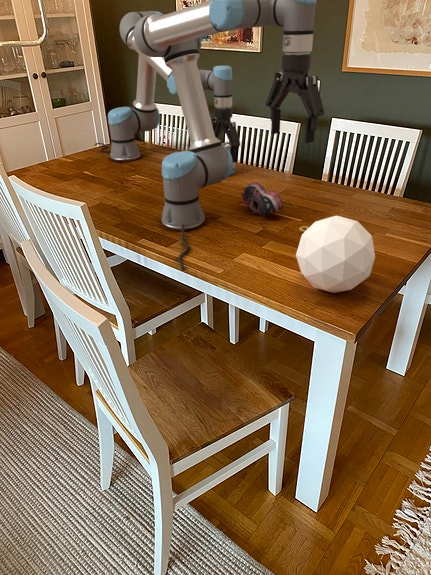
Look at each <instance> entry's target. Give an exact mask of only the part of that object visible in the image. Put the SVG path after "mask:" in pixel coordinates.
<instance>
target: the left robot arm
mask: <svg viewBox="0 0 431 575" xmlns="http://www.w3.org/2000/svg"><path fill="white" fill-rule="evenodd" d="M153 14H158V15H161V14H163V13H162V12H160V11H155V10H149V11H147V10H146V11H130V12H128V13H126V14H124V16H123V17H122V18H121V20H120V23H119V34H120V38H121V40H122V41H123V43H124V44H125V45H126V47H128V48H129V50H132V51H135V52H136V53H137V54H138V65H137V83H136V97H135V99H134V100H133V101H132V108H131V107H130V106H121V107H119V106H118V107H116V108H113V109H111V110H109V112H108V113H107V122H108V127H109V128H108V129H109V134H110V140H111V147H110V150H106V149H107V148H108V145H107V144H105V143H102V142H96V143H95V144H94V147H95V146H97V145H102V146H104V147H102V148H100V152H102V153H109V157H110V161H113V162H118V163H125V162H132V161H137V160H139V159H140V158H141V157H142V156H141V155H142V154H141V151H140V150H139V146H138V144H137V142H136V136H135V135H137V134H141V133H145V132H150V131H153V130H155V129H157V128H158V126H159V124H160V122H161V114H160V109H159V108H158V106H157V104H156V103H155V94H156V93H155V92H156V82H157V73H158V74H159V75H160V76H161V77H162V78H163V79H164V80H165V81H166V86H167V89H168V92H169V93H170V94H171V95H173V96H178V92H177V89H176V85H175V81H174V77H173V74H172V70H171V69H170V68H168V67H167V66H166V65H165V62H164V58H163V57H158V58H154V57H149V56H146V55H144V54H143V53H142V52H141V51H140V50H139V49H138V47H137V46H136V44H135V41H134V28H135V25H136V23H137V22H138V21H139V20H140V19H141V18H142V17H144V16H148V15H153ZM232 68H233V67H232V66H230V65H216V66H213V69H212V70H209V69H202V68H201V69H198V71H199V75H200V79H201V83H202V87H203V91H211V92H213V101H214V102H213V104H214V110H213V112H214V117H211V123H212V127H213V131H214V135H215V137H216V138H217V139H219V136H220V134H221V132H224V134H226V137H227V139H228V142H230V144H231V147H230V153H231V156H232V160H233V163H234V162H235V163H237V154H238V147H241V140H240V138H239V134H238V130H237V123H236V121H231V119H232V117H233V78H234V77H233V70H232ZM233 144H234V145H233Z"/></svg>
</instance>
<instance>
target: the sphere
mask: <svg viewBox="0 0 431 575" xmlns="http://www.w3.org/2000/svg"><path fill="white" fill-rule="evenodd" d="M308 227H309V228H308V229H307V228H306V229H307V230H306V229H305V232H303V233H302V234H301V236H300V240H299V243H298V247H297V251H296V253H295V257H296V261H297V264H298V267H299V270H300V273H301V275H303V277H304V278H305V280H306V281H307V282H308V283H309V284H310V285H311V287H312V288H314V289H317V290H320V291H325V292H328V293H332V294H335V293H341V292H347V291H351V290H353V289H354V288H356V287H357V286H358V285H359V284H361V283H362V282H364V281H365V280H367V279H368V278H369V277H370V276H371V272H372V269H373V267H374V262H375V259H376V252H375V247H374V241H373V235H372V234H371V233H370V232H368V230H367V229H366V228H365V227H364V226H363V225H362V224H361V223H360V222H359V221H358V220H356V219H355V220H354V219H351V218H347V217H344V216H340V215H333V216H329V217H326V218H322V219H320V220H316V221H314V222H313V223H312V224H311V225H310V226H308Z"/></svg>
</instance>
